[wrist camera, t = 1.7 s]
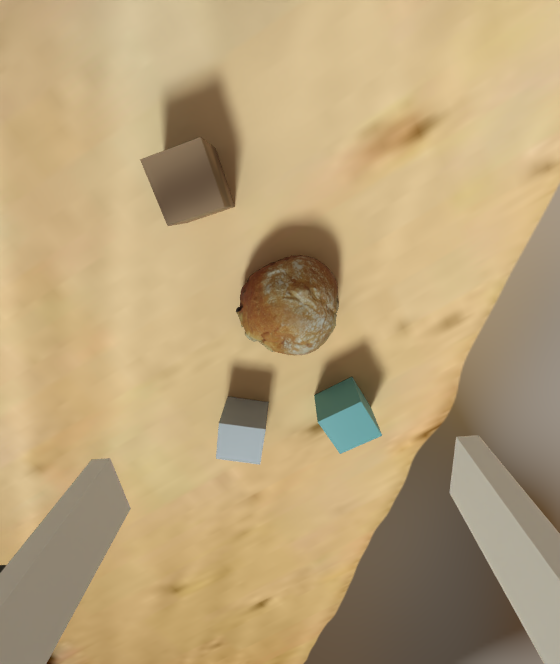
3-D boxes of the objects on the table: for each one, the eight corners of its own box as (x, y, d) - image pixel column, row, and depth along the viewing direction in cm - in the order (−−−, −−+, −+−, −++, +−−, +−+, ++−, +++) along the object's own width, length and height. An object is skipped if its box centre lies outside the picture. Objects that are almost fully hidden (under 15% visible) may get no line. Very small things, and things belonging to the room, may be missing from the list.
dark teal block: (314, 394, 37) (317, 422, 32) (351, 376, 36) (360, 401, 31) (334, 423, 38) (340, 453, 34) (370, 406, 37) (382, 435, 33)
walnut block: (164, 167, 28) (140, 159, 23) (215, 148, 27) (200, 136, 23) (186, 222, 30) (167, 225, 25) (235, 206, 29) (224, 206, 24)
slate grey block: (227, 396, 37) (218, 423, 33) (268, 401, 37) (265, 429, 33) (224, 428, 39) (216, 458, 35) (263, 434, 39) (260, 464, 35)
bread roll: (321, 328, 37) (362, 350, 30) (242, 355, 34) (267, 386, 27) (311, 246, 34) (355, 249, 27) (221, 266, 30) (244, 277, 23)
